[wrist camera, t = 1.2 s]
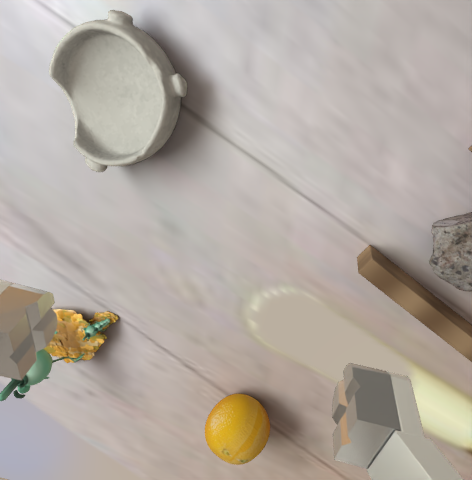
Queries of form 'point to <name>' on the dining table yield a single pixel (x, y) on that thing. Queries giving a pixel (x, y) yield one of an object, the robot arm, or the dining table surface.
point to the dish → (117, 90)
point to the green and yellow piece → (64, 347)
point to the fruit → (237, 429)
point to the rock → (453, 250)
